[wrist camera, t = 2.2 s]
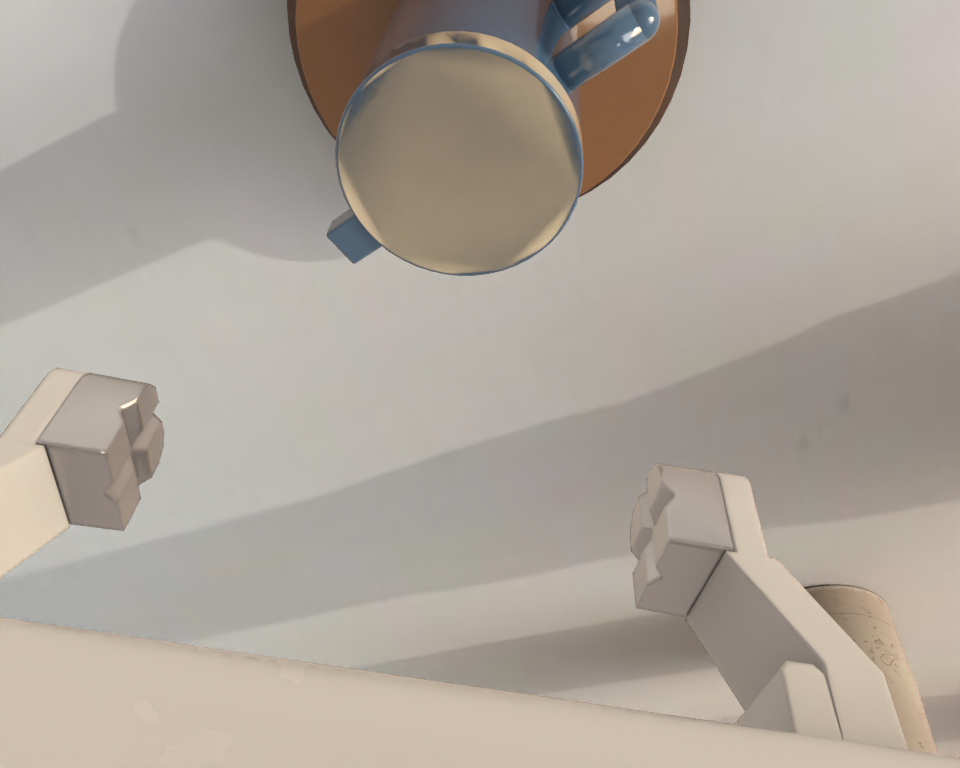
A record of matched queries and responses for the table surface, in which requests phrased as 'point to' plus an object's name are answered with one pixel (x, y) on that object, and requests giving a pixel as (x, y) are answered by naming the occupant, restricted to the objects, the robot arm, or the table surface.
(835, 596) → the thermos bottle
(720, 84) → the table surface
